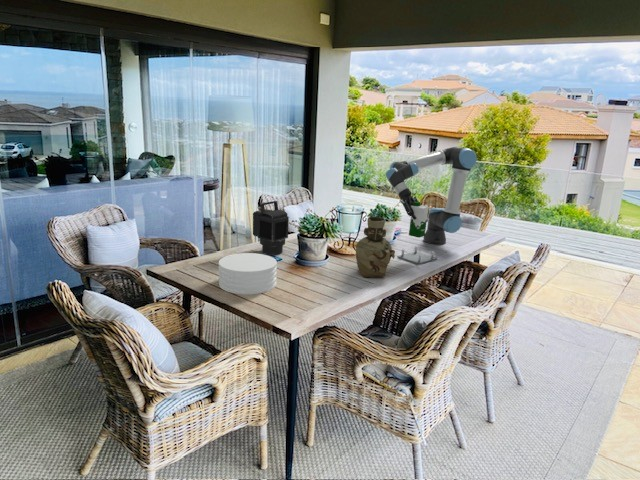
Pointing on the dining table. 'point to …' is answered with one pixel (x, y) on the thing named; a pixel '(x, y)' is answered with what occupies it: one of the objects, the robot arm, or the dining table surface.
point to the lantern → (271, 228)
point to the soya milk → (422, 215)
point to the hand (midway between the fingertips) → (423, 222)
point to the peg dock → (417, 257)
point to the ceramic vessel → (374, 250)
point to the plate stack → (247, 273)
